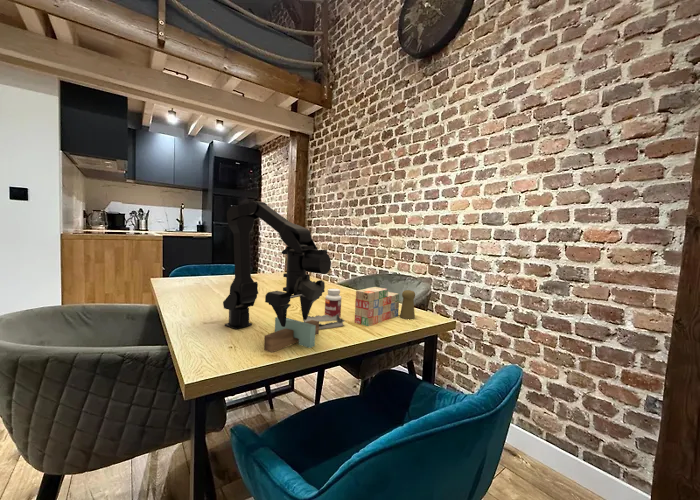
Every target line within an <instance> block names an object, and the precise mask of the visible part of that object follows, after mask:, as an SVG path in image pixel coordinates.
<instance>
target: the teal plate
mask: <svg viewBox="0 0 700 500" xmlns="http://www.w3.org/2000/svg"><path fill="white" fill-rule="evenodd" d="M286 328H287V329H290V330H294V335H293V337H295V338H298V339H299V342H298V346H299V345H300V346H303V347H305V348H309V349H311V348H312V347H313V348H314V347H316V344H315V343H316V335H315V328H316V325H312V324H309V323H305V322H304V321H300V320H296V319H294V318H293V319H292V318H289V317H286V325H285V327H282V326H281V324H280V321H279V319H278V317H277V316H276V317H275V319H274V332H276V331H279V330H283V329H286Z"/></svg>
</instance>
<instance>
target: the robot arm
mask: <svg viewBox="0 0 700 500" xmlns="http://www.w3.org/2000/svg"><path fill="white" fill-rule="evenodd" d="M258 219H260V220H262V221H263V222H264V223H265V224H266V225H268V226H270V227H271V228H272V229H274V231H276V232H277V233H278V235H279V238H280V240H281V241H282V242H283V244H285V245H286V247H285V249H283V250H282V251H281V255H286V256H287V257H286V273H283V278H285V279H286V282H285V284H286V285H285V287H282V291H280V290H272V291H268V292H267V293H266V294H265V297H264V298H265V301H264V303H267V304H268V305H269V306H271V307H272V309H273V310H274V312H275V315H276V317H278V319H279V321H280V324H281V326H282V327H285V325H286V318H287V312H288V309H289V308H290V307H291V304H290V302H291V299H294V298H299V301H300V310H301V315H302V320H303V319H304V320H306V319H307V317H308V316H309V314H310V311H311V309H312V306H313V304H314V302H316V301H317V300H318V299H320V297H322V296H323V293H325V289H326V286H325V285H326V284H325V281H323V280H321V279H320V280H317V281H315V280H313V281H312V280H311V276H310V274H309V273H313V274H319V275H327V274H328V273H329V272H330V270H331V268H332V267H331V266H332V261H331V257H330V255H329V254H328V249H318V247H317V245H316V243H315V241H314V239H313V238H312V233H311V231H310V230H309V229H308V228H306V227H304V226H302V225H299V224H296V223H294V222H290V221H289V220H288V219H287V218H285V217H284V216H282V215H281V214H280V213H279V212H277V211H276V210H274V209H273V208H272V207H270V206H269V205H268V204H267V202H264V201H259V200H253V201H250V202H248V203H244V204H240V205H239V204H238V205H236V206H235V205H232V206H231V207H229V209H228V210H227V211H226V220H227V225H228V228H229V229H230V230H231V232H232V235H233V255H234V257H233V259H234V261H233V262H234V278H233V280H232V283H231V284H230V286H229V294H228V296H226V298H224V300H223V301H222V305H223V310H224V309H225V310H228V322H227V323H224V326H226V327H228V328H231V329H235V330H239V329H242V328H246V327H250V326H252V325H253V323H252V322H250V308H251V307H254V305H255V303H256V300H257V298H258V294H259V290H258V287H259V286H258V285H259V283H258V282H257V281H254V279H253V278H252V276H251V275H252V272H251V271H252V270H251V244H250V243H251V241H250V233H251V231H252V230H253V228H254V225H255V220H258Z"/></svg>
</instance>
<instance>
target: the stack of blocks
mask: <svg viewBox="0 0 700 500" xmlns="http://www.w3.org/2000/svg"><path fill="white" fill-rule="evenodd" d="M354 303H355V304H354V307H355V309H354V311H355V312H354V323H355V324H359V325H362V326H365V327H370V326H373V325H377V324H379V323H382V322H384V321H387V320H390V319H392V318H396V317H398V316H399V312H400V311H399V307H400V293H396V292H392V291H389V290H388V288H384V287H379V286H372V287H367V288H363V289H357V290H356V291H355V301H354Z"/></svg>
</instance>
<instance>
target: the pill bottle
mask: <svg viewBox="0 0 700 500" xmlns="http://www.w3.org/2000/svg"><path fill="white" fill-rule="evenodd" d="M340 293H341V289H339V288H328V289H327V294H326V295H325V298H324V299H325V300H324V301H325V302H324V315H329V317H333V316H336V315H337V314H338V315H339V317H340V318H341V315H342V313H341V312H342V296H341V295H340Z"/></svg>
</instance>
